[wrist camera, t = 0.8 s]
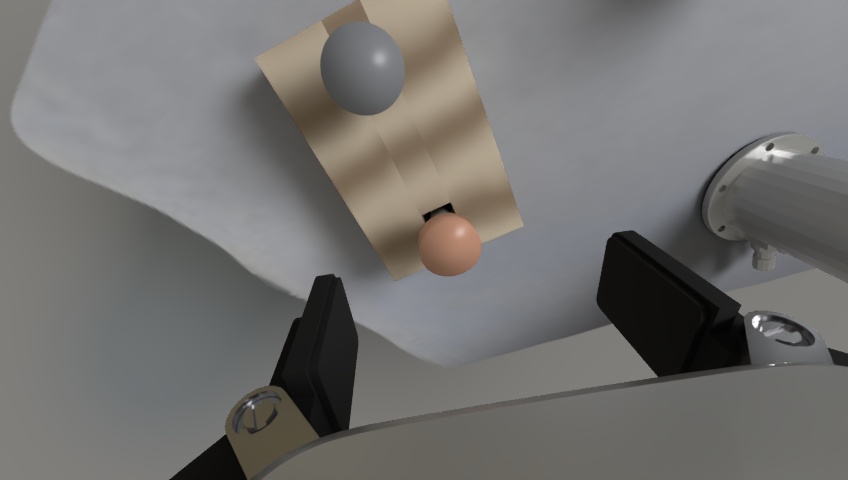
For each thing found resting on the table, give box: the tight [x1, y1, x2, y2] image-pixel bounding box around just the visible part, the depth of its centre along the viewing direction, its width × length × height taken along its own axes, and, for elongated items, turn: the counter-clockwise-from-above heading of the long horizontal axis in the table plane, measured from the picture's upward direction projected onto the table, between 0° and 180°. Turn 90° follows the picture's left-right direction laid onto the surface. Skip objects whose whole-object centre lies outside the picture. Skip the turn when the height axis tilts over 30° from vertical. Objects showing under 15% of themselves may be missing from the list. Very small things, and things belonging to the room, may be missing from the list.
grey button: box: [320, 21, 405, 116], centre depth 22 cm, size 5×5×6 cm
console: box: [255, 0, 524, 281], centre depth 30 cm, size 22×14×5 cm, turn 25°
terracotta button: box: [418, 207, 481, 276], centre depth 29 cm, size 5×5×6 cm
